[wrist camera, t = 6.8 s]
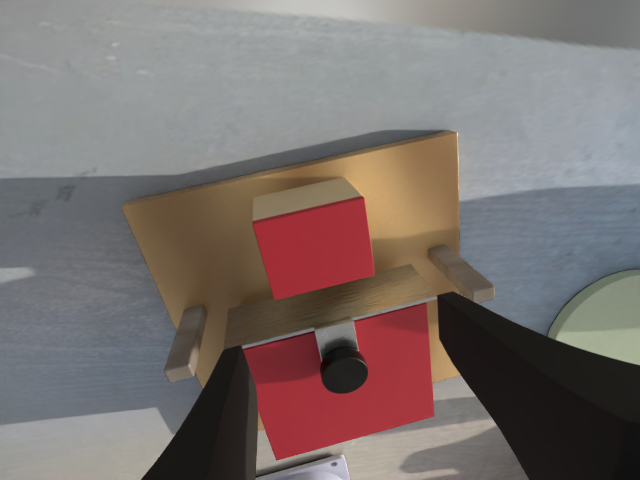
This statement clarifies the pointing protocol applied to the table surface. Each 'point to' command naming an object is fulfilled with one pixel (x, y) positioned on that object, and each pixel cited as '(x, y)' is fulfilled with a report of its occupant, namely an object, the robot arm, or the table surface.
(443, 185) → the board
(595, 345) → the plate
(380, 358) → the red and beige block
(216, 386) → the robot arm
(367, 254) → the cake slice
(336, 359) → the blade
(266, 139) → the table surface
